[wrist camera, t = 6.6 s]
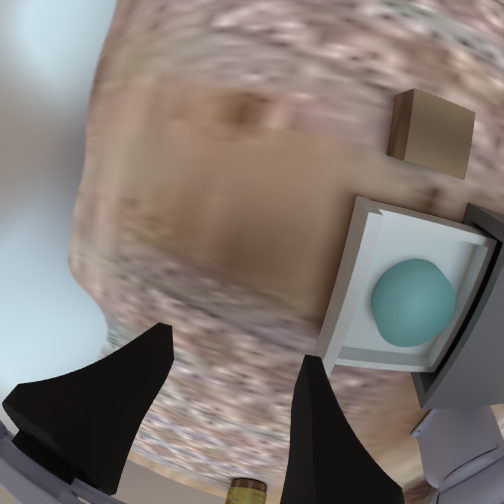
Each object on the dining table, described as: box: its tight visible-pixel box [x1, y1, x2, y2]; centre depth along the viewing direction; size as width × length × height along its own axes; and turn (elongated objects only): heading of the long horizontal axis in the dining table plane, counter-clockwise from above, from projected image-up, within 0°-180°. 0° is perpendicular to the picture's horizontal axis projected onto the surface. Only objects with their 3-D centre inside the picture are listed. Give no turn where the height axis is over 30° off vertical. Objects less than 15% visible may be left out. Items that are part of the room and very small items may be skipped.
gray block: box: [411, 203, 504, 409], centre depth 16 cm, size 14×11×6 cm
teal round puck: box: [371, 259, 456, 347], centre depth 17 cm, size 6×6×2 cm
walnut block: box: [387, 88, 475, 180], centre depth 14 cm, size 4×4×4 cm
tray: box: [316, 196, 497, 379], centre depth 17 cm, size 11×10×4 cm
